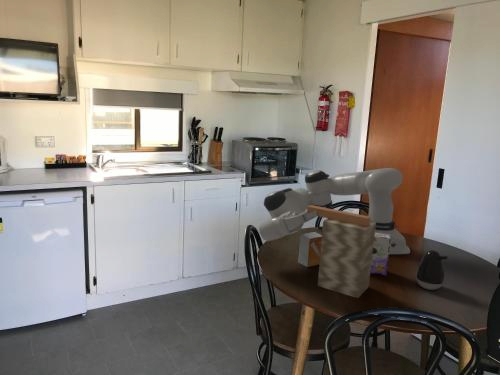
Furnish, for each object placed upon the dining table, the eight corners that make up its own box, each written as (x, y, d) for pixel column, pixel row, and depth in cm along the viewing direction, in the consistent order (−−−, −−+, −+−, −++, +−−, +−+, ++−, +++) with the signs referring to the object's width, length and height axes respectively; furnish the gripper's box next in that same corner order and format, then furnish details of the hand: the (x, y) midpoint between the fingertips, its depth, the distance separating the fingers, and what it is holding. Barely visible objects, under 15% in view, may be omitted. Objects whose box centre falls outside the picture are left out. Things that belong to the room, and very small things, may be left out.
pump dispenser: (437, 295, 159) (443, 257, 155) (410, 286, 165) (415, 249, 162) (447, 287, 166) (452, 251, 163) (420, 279, 173) (425, 243, 169)
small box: (307, 267, 179) (309, 238, 176) (297, 262, 184) (299, 234, 181) (321, 264, 183) (324, 235, 181) (311, 259, 189) (314, 231, 186)
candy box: (386, 270, 180) (391, 234, 176) (386, 276, 174) (391, 238, 171) (353, 265, 184) (357, 229, 180) (352, 270, 178) (356, 233, 175)
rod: (306, 213, 165) (307, 206, 164) (310, 212, 168) (310, 205, 167) (366, 226, 152) (367, 218, 152) (369, 224, 155) (370, 216, 154)
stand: (317, 285, 162) (323, 221, 157) (330, 275, 172) (335, 214, 166) (358, 298, 154) (365, 230, 148) (368, 286, 164) (376, 222, 158)
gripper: (306, 223, 179) (334, 212, 171) (283, 235, 162) (313, 224, 155) (301, 209, 180) (328, 198, 172) (277, 220, 163) (306, 208, 155)
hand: (321, 210), depth 163 cm, fingers open, 6 cm apart
